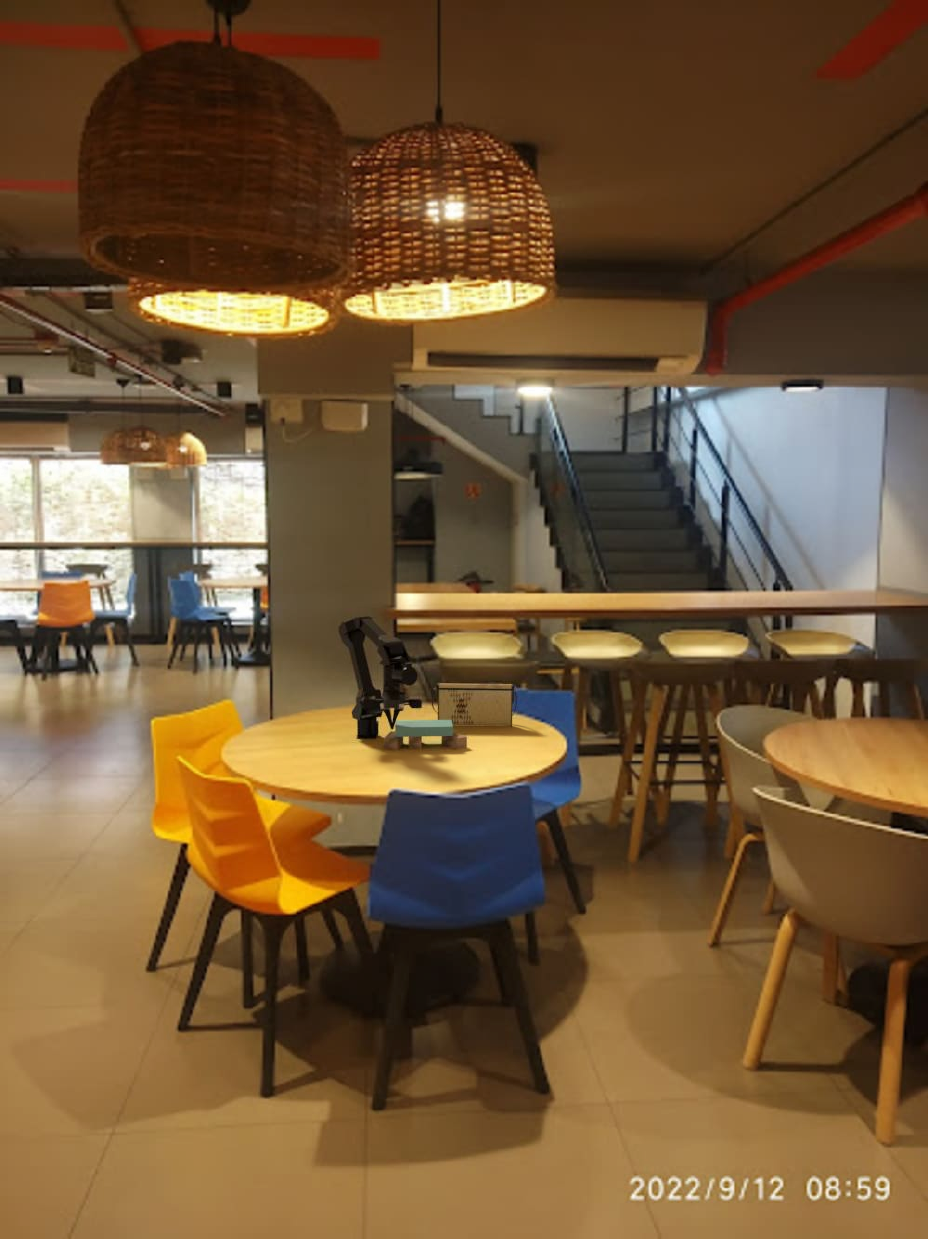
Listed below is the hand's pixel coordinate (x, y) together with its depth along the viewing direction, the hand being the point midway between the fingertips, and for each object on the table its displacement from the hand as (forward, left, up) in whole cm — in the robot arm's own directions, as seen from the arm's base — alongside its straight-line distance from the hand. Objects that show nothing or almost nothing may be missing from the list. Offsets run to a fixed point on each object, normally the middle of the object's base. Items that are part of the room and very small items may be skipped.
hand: (392, 729), depth 280 cm
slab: (+10, +2, -2) cm, 10 cm away
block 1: (+1, 0, -6) cm, 6 cm away
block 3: (+20, 0, -6) cm, 20 cm away
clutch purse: (+28, +27, -6) cm, 39 cm away
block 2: (+7, +1, -6) cm, 9 cm away
